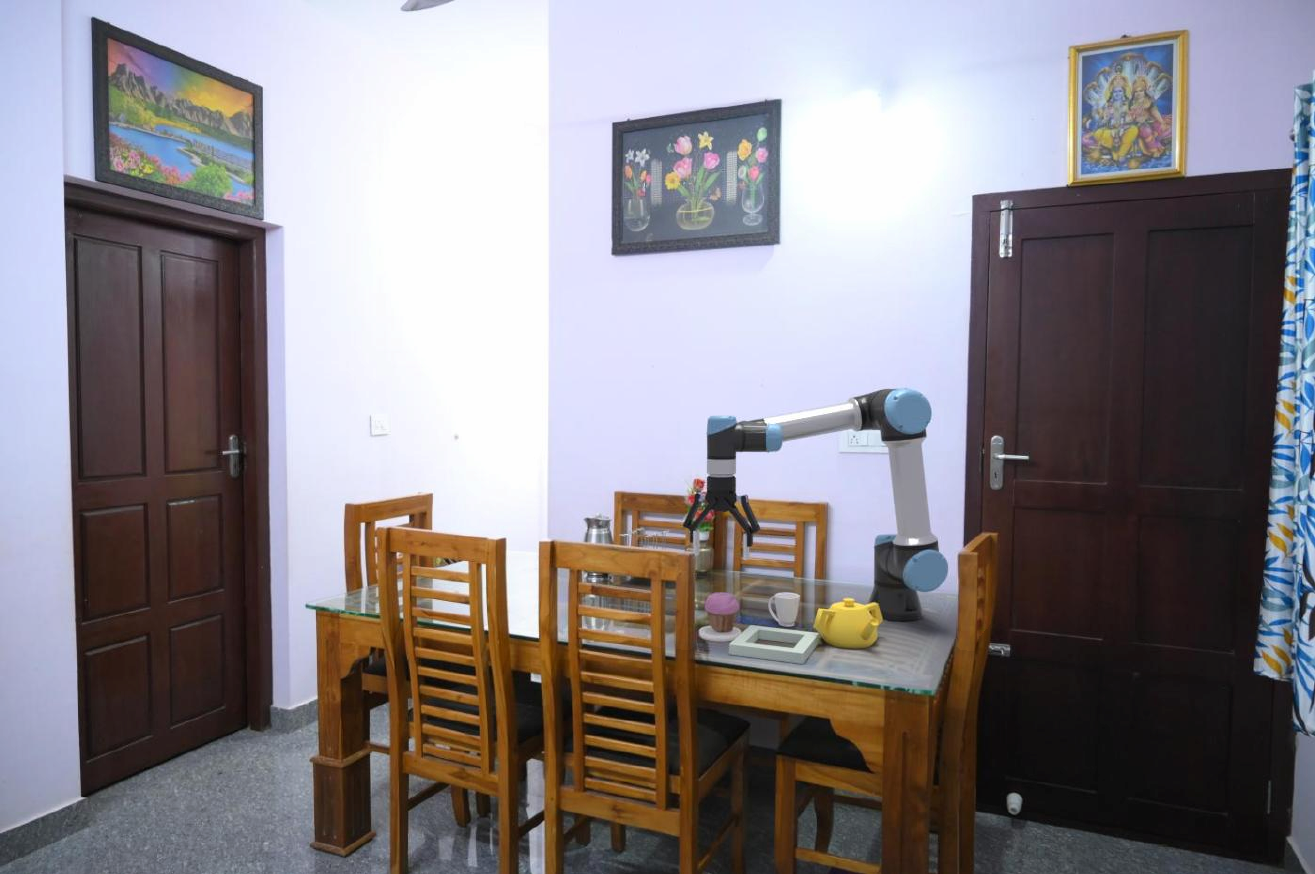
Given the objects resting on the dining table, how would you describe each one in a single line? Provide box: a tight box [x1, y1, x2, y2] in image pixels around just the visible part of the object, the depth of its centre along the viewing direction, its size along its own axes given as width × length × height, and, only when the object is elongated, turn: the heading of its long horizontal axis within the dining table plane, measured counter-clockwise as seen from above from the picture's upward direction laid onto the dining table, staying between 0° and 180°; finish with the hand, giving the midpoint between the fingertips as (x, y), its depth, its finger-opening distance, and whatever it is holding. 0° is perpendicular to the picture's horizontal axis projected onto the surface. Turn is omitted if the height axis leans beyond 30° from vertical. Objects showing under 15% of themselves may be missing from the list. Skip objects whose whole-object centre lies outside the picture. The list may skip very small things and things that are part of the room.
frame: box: [728, 624, 820, 665], centre depth 202 cm, size 18×18×2 cm
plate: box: [698, 625, 742, 643], centre depth 213 cm, size 11×11×1 cm
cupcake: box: [704, 591, 740, 632], centre depth 213 cm, size 9×9×10 cm
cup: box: [767, 591, 801, 628], centre depth 225 cm, size 7×10×8 cm
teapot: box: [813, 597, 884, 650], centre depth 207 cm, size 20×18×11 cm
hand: (720, 557), depth 212 cm, fingers open, 13 cm apart
